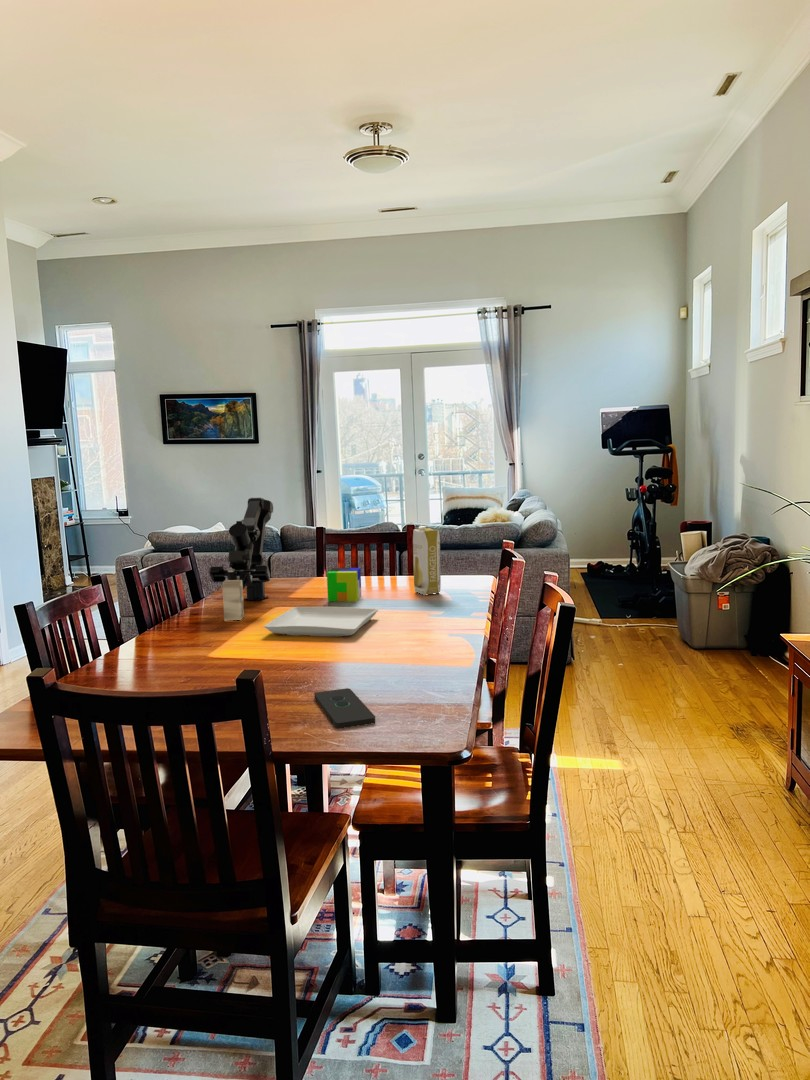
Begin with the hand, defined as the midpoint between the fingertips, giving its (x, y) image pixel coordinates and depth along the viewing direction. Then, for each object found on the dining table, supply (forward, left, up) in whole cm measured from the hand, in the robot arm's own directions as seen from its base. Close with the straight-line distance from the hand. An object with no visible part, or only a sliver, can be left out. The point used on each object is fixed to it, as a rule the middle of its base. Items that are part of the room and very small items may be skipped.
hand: (236, 595), depth 249 cm
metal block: (+4, +2, -7) cm, 8 cm away
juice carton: (-52, +44, -7) cm, 68 cm away
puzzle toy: (-35, +20, -7) cm, 41 cm away
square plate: (+4, +34, -7) cm, 35 cm away
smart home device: (+65, +74, -7) cm, 98 cm away
